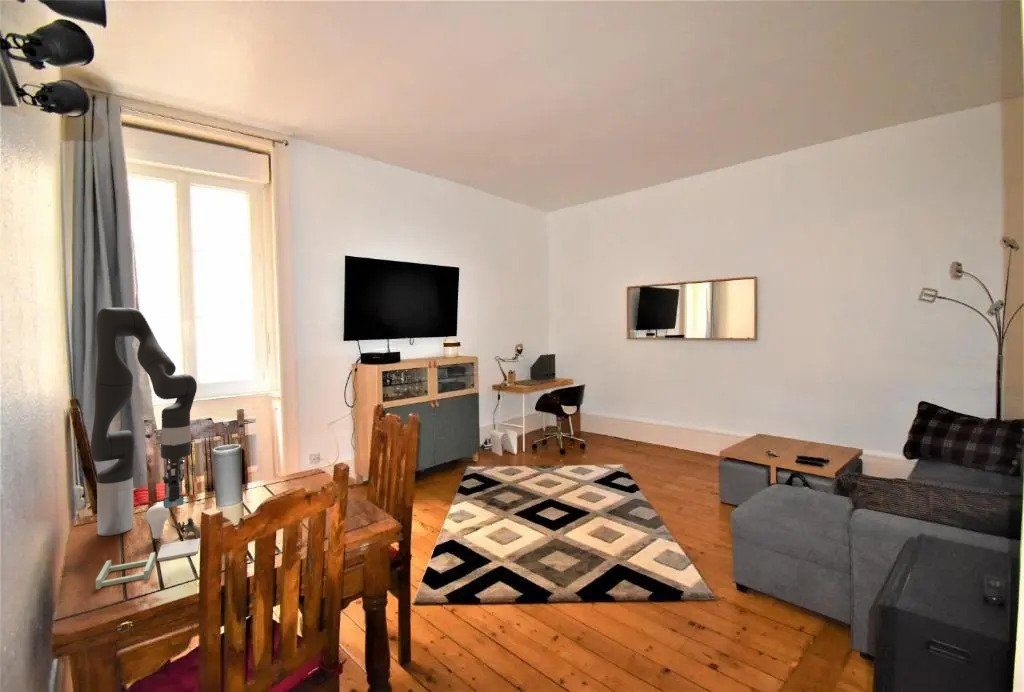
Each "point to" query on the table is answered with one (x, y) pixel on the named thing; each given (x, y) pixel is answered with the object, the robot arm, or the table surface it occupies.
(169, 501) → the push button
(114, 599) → the table surface
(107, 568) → the frame
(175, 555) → the tile
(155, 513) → the lightbulb
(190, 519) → the eagle figurine
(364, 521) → the table surface
